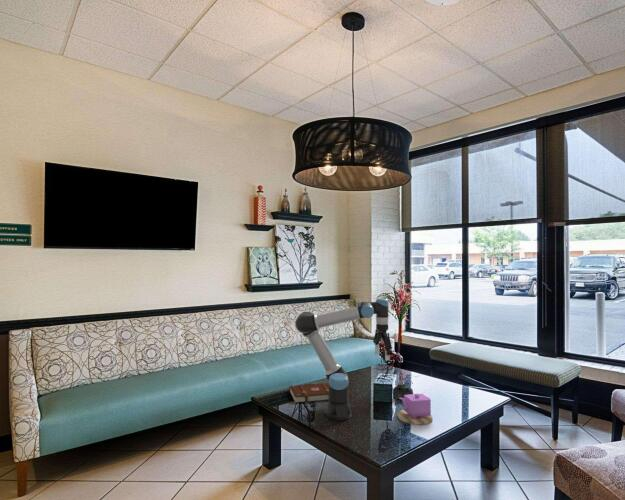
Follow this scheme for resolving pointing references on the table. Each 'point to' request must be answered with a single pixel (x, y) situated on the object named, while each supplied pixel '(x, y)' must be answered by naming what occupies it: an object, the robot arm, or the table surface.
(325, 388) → the book
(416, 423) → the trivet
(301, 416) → the table surface
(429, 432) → the table surface
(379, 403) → the table surface
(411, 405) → the teapot
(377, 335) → the robot arm
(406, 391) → the camera
